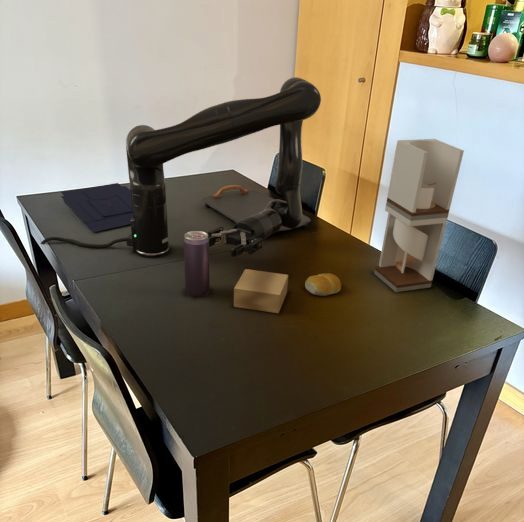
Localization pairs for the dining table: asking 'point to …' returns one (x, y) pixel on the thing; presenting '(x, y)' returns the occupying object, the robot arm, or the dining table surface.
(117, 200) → the folded navy cloth
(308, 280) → the bread roll
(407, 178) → the architectural tower model
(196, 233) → the beverage can
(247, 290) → the birch block
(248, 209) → the serving tray
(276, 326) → the dining table surface
